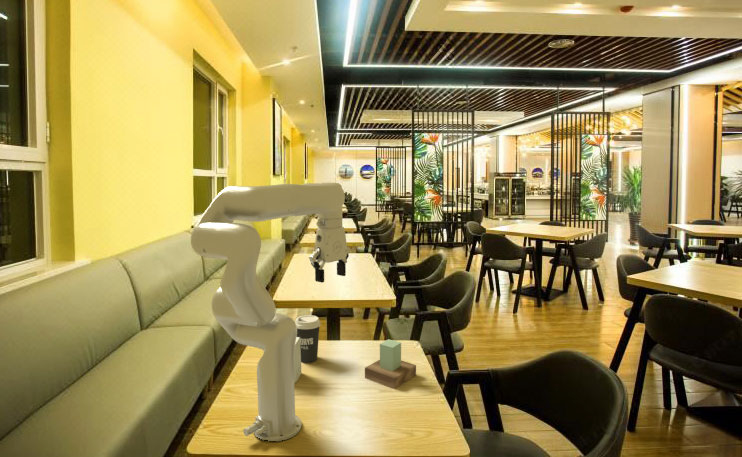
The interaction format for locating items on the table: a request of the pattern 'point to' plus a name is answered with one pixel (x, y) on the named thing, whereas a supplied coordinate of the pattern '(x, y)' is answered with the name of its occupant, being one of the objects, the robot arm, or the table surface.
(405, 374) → the block
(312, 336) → the coffee cup
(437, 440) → the table surface
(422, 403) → the table surface
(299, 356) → the supplement box
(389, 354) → the sage block
